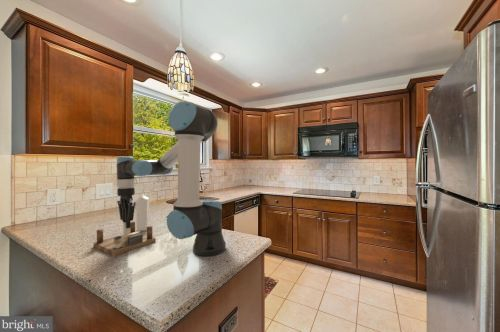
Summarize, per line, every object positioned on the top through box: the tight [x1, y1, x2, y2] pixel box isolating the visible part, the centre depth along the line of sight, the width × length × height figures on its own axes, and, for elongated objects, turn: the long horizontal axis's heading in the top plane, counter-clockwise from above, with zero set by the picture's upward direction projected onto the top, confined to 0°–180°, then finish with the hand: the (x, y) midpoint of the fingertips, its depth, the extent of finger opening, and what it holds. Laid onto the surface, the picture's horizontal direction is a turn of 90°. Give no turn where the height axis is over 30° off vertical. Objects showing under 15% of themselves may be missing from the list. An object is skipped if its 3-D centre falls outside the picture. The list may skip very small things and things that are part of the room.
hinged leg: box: [114, 230, 142, 248], centre depth 101 cm, size 12×3×5 cm, turn 155°
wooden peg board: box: [93, 221, 157, 257], centre depth 106 cm, size 20×20×8 cm
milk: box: [135, 193, 151, 232], centre depth 130 cm, size 6×6×22 cm
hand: (126, 234), depth 106 cm, fingers closed
